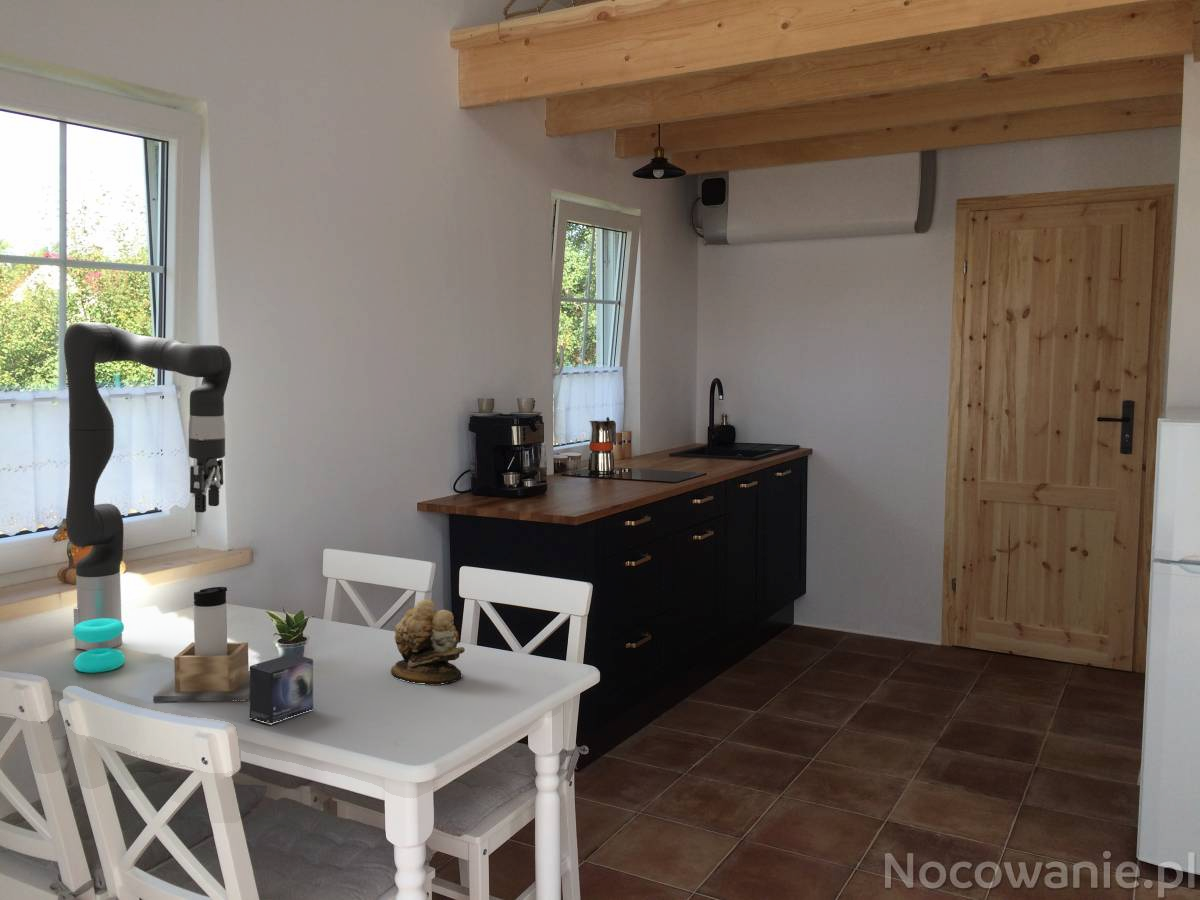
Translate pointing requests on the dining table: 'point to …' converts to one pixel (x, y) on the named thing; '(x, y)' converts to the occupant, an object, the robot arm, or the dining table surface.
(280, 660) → the small box
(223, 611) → the travel mug
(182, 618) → the dining table surface
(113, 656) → the donuts
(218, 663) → the box
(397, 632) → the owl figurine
